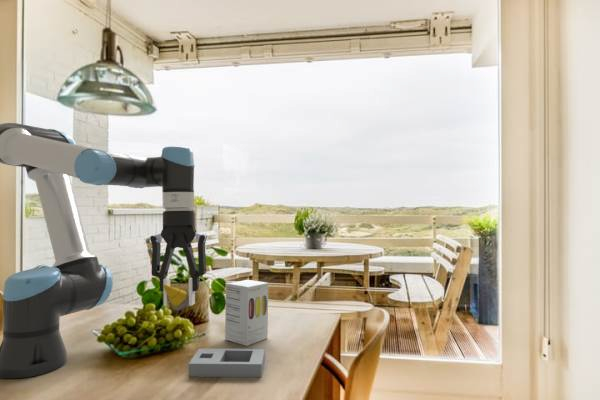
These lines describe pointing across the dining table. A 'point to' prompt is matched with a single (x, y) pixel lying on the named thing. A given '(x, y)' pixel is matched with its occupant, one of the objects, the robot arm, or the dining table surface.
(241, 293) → the supplement box
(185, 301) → the yellow grooved cone
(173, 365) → the dining table surface
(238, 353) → the bit holder block
